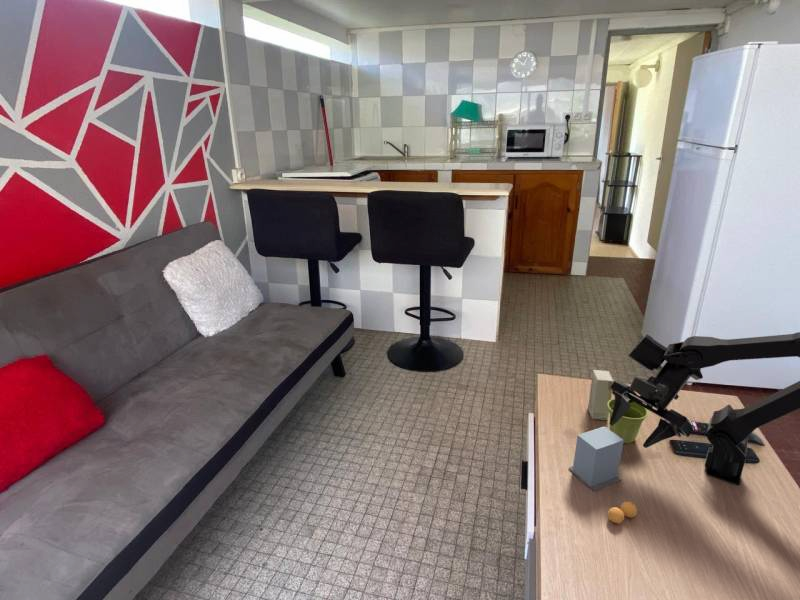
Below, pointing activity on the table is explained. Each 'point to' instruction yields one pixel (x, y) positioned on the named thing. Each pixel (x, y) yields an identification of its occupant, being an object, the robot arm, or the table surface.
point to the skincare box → (600, 394)
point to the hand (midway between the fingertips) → (626, 435)
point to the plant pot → (628, 421)
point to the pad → (600, 485)
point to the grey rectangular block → (597, 455)
